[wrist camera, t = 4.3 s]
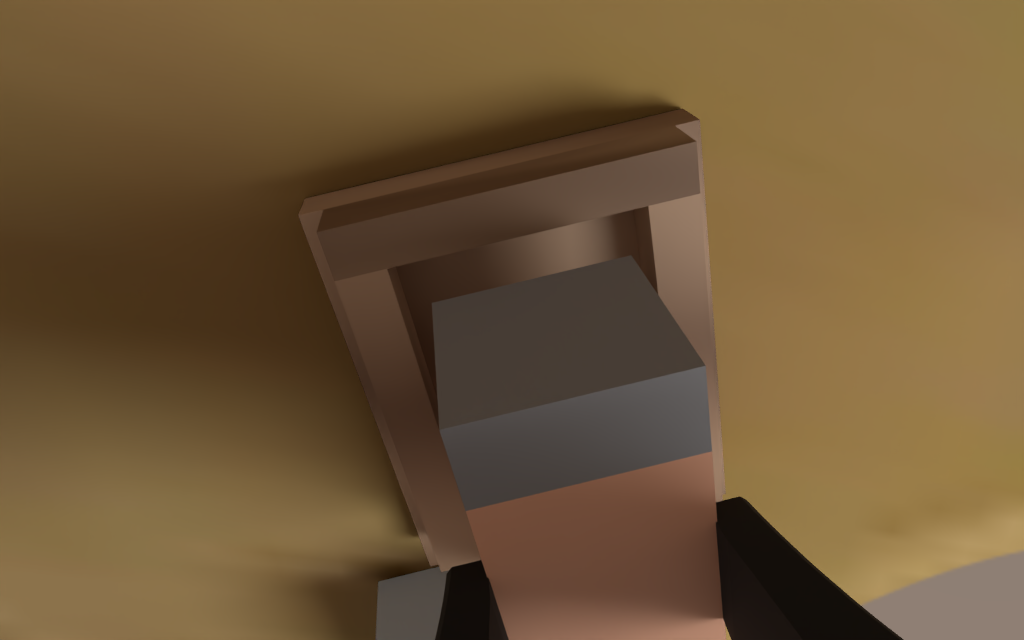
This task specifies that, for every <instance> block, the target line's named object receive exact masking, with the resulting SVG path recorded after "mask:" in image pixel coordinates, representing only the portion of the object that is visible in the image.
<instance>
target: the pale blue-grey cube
mask: <svg viewBox="0 0 1024 640" xmlns="http://www.w3.org/2000/svg"><path fill="white" fill-rule="evenodd" d="M448 571H449V570H448ZM448 571H444V572H441V570H440V567H435V568H431V569H427V570H423V571H419V572H415V573H411V574H407V575H403V576H399V577H395V578H391V579H387V580H382V581H378V599H377V621H376V640H435V637H436V633H437V628H438V624H439V619H440V614H441V608H442V603H443V597H444V590H445V583H446V574H447V572H448Z"/></svg>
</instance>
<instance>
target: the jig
mask: <svg viewBox="0 0 1024 640" xmlns="http://www.w3.org/2000/svg"><path fill="white" fill-rule="evenodd" d="M298 217H299V219H300V222H301V224H302V227H303V230H304V232H305V235H306V238H307V240H308V243H309V246H310V248H311V251H312V254H313V256H314V259H315V262H316V264H317V267H318V270H319V272H320V275H321V278H322V280H323V283H324V286H325V288H326V291H327V294H328V296H329V299H330V301H331V304H332V307H333V309H334V312H335V315H336V317H337V320H338V323H339V325H340V328H341V331H342V333H343V336H344V339H345V341H346V344H347V347H348V349H349V352H350V355H351V357H352V360H353V363H354V365H355V368H356V370H357V373H358V376H359V378H360V381H361V384H362V386H363V389H364V392H365V394H366V397H367V400H368V402H369V405H370V408H371V410H372V413H373V416H374V418H375V421H376V424H377V426H378V429H379V431H380V434H381V437H382V439H383V442H384V445H385V447H386V450H387V453H388V455H389V458H390V461H391V463H392V466H393V469H394V471H395V474H396V477H397V479H398V482H399V485H400V487H401V490H402V493H403V495H404V498H405V500H406V503H407V506H408V508H409V511H410V514H411V516H412V519H413V522H414V524H415V527H416V530H417V532H418V535H419V538H420V540H421V543H422V546H423V548H424V551H425V554H426V556H427V559H428V562H429V564H430V566H434V565H439V567H440V570H441V572H444V571H448V570H450V569H451V567H454V566H458V565H462V564H467V563H471V562H475V561H479V560H481V557H480V554H479V551H478V548H477V545H476V542H475V539H474V535H473V532H472V529H471V526H470V523H469V520H468V517H467V514H466V511H465V508H464V505H463V501H462V498H461V495H460V492H459V489H458V486H457V483H456V480H455V477H454V474H453V471H452V468H451V464H450V461H449V458H448V455H447V452H446V449H445V446H444V443H443V440H442V437H441V434H440V430H439V416H438V399H437V382H436V365H435V349H434V332H433V315H432V303H434V302H438V301H442V300H446V299H450V298H455V297H459V296H463V295H467V294H471V293H475V292H480V291H484V290H488V289H492V288H496V287H500V286H505V285H509V284H513V283H517V282H521V281H526V280H530V279H534V278H538V277H542V276H546V275H551V274H555V273H559V272H563V271H567V270H571V269H576V268H580V267H584V266H588V265H592V264H597V263H601V262H605V261H609V260H613V259H617V258H622V257H626V256H630V255H632V257H633V258H634V260H635V261H636V263H637V264H638V266H639V267H640V269H641V270H642V272H643V273H644V275H645V276H646V278H647V279H648V281H649V282H650V284H651V285H652V287H653V288H654V290H655V291H656V293H657V294H658V295H659V297H660V298H661V300H662V301H663V303H664V304H665V306H666V307H667V309H668V310H669V312H670V313H671V315H672V316H673V318H674V319H675V321H676V322H677V324H678V325H679V327H680V328H681V330H682V331H683V333H684V334H685V336H686V337H687V339H688V340H689V342H690V343H691V345H692V346H693V348H694V349H695V351H696V352H697V353H698V355H699V356H700V358H701V359H702V361H703V362H704V364H705V365H706V376H707V390H708V403H709V416H710V430H711V443H712V457H713V470H714V484H715V497H716V502H720V501H723V499H722V495H723V494H726V493H725V478H724V464H723V449H722V435H721V420H720V406H719V392H718V377H717V363H716V348H715V334H714V319H713V305H712V290H711V276H710V261H709V247H708V232H707V218H706V203H705V189H704V174H703V160H702V146H701V131H700V120H699V119H698V118H696V117H695V116H693V115H692V114H690V113H689V112H687V111H685V110H684V109H679V110H674V111H670V112H666V113H662V114H658V115H653V116H649V117H645V118H641V119H637V120H632V121H628V122H624V123H620V124H616V125H611V126H607V127H603V128H599V129H595V130H590V131H586V132H582V133H578V134H574V135H570V136H565V137H561V138H557V139H553V140H549V141H544V142H540V143H536V144H532V145H528V146H523V147H519V148H515V149H511V150H507V151H502V152H498V153H494V154H490V155H486V156H481V157H477V158H473V159H469V160H465V161H461V162H456V163H452V164H448V165H444V166H440V167H435V168H431V169H427V170H423V171H419V172H414V173H410V174H406V175H402V176H398V177H393V178H389V179H385V180H381V181H377V182H373V183H368V184H364V185H360V186H356V187H352V188H347V189H343V190H339V191H335V192H331V193H326V194H322V195H318V196H314V197H310V198H305V199H304V202H303V204H302V207H301V210H300V212H299V215H298Z"/></svg>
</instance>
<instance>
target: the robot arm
mask: <svg viewBox="0 0 1024 640" xmlns="http://www.w3.org/2000/svg"><path fill="white" fill-rule="evenodd" d="M716 510H717V522H716V532H717V545H718V558H719V571H720V585H721V598H722V611H723V619H724V622H725V624H726V627H727V629H728V632H729V634H730V637H731V639H732V640H903V639H902V638H901V637H899V636H898V635H897V634H896V633H894V632H893V631H892V630H890V629H889V628H888V627H887V626H885V625H884V624H883V623H882V622H880V621H879V620H878V619H876V618H875V617H874V616H873V615H871V614H870V613H869V612H868V611H867V610H865V609H864V608H863V607H862V606H860V605H859V604H858V603H857V602H856V601H854V600H853V599H852V598H851V597H850V596H849V595H847V594H846V593H845V592H844V591H843V590H842V589H840V588H839V587H838V586H837V585H836V584H835V583H833V582H832V581H831V580H830V579H829V578H828V577H827V576H825V575H824V574H823V573H822V572H821V571H820V570H818V569H817V568H816V567H815V566H814V565H813V564H812V563H811V562H810V561H808V560H807V559H806V558H805V557H804V556H803V555H802V554H801V553H800V552H799V551H798V550H797V549H796V548H794V547H793V546H792V545H791V544H790V543H789V542H788V541H787V540H786V539H785V538H784V537H783V536H782V535H781V534H780V533H779V532H778V531H777V530H776V529H775V528H773V527H772V526H771V525H770V524H769V523H768V522H767V521H766V520H765V519H764V518H763V517H762V516H761V515H760V514H759V513H758V511H757V510H756V509H755V508H754V507H753V506H752V505H751V504H750V503H749V502H748V501H747V500H745V499H744V498H742V497H736V498H732V499H728V500H724V501H720V502H716ZM435 640H509V639H508V636H507V633H506V630H505V627H504V623H503V620H502V617H501V614H500V611H499V608H498V605H497V602H496V599H495V596H494V592H493V589H492V586H491V583H490V580H489V577H488V578H487V576H486V573H485V569H484V566H483V563H482V560H479V561H475V562H471V563H467V564H462V565H458V566H454V567H451V569H450V570H449V571H448V572H447V574H446V583H445V590H444V597H443V603H442V608H441V614H440V619H439V624H438V628H437V633H436V637H435Z"/></svg>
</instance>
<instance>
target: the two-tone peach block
mask: <svg viewBox="0 0 1024 640" xmlns="http://www.w3.org/2000/svg"><path fill="white" fill-rule="evenodd" d="M432 315H433V332H434V349H435V365H436V382H437V399H438V416H439V430H440V434H441V437H442V440H443V443H444V446H445V449H446V452H447V455H448V458H449V461H450V464H451V468H452V471H453V474H454V477H455V480H456V483H457V486H458V489H459V492H460V495H461V498H462V501H463V505H464V508H465V511H466V514H467V517H468V520H469V523H470V526H471V529H472V532H473V535H474V539H475V542H476V545H477V548H478V551H479V554H480V557H481V560H482V563H483V566H484V569H485V573H486V576H487V578H488V577H489V580H490V583H491V586H492V589H493V592H494V596H495V599H496V602H497V605H498V608H499V611H500V614H501V617H502V620H503V623H504V627H505V630H506V633H507V636H508V639H509V640H726V631H725V622H724V619H723V611H722V598H721V585H720V571H719V558H718V545H717V532H716V522H717V510H716V497H715V484H714V470H713V457H712V443H711V430H710V416H709V403H708V390H707V376H706V365H705V364H704V362H703V361H702V359H701V358H700V356H699V355H698V353H697V352H696V351H695V349H694V348H693V346H692V345H691V343H690V342H689V340H688V339H687V337H686V336H685V334H684V333H683V331H682V330H681V328H680V327H679V325H678V324H677V322H676V321H675V319H674V318H673V316H672V315H671V313H670V312H669V310H668V309H667V307H666V306H665V304H664V303H663V301H662V300H661V298H660V297H659V295H658V294H657V293H656V291H655V290H654V288H653V287H652V285H651V284H650V282H649V281H648V279H647V278H646V276H645V275H644V273H643V272H642V270H641V269H640V267H639V266H638V264H637V263H636V261H635V260H634V258H633V257H632V255H630V256H626V257H622V258H617V259H613V260H609V261H605V262H601V263H597V264H592V265H588V266H584V267H580V268H576V269H571V270H567V271H563V272H559V273H555V274H551V275H546V276H542V277H538V278H534V279H530V280H526V281H521V282H517V283H513V284H509V285H505V286H500V287H496V288H492V289H488V290H484V291H480V292H475V293H471V294H467V295H463V296H459V297H455V298H450V299H446V300H442V301H438V302H434V303H432Z"/></svg>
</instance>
